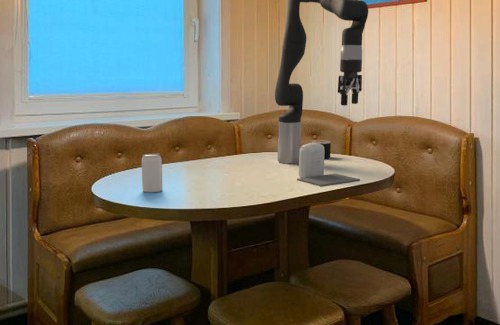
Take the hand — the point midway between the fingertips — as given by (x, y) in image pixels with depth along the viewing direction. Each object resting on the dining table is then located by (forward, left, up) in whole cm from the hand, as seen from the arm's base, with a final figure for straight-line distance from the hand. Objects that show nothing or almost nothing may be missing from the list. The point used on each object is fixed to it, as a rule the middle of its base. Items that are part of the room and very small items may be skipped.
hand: (349, 104), depth 197 cm
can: (-18, -69, -27) cm, 76 cm away
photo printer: (-9, -10, -27) cm, 30 cm away
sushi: (-41, +21, -27) cm, 53 cm away
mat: (+1, -10, -27) cm, 28 cm away
